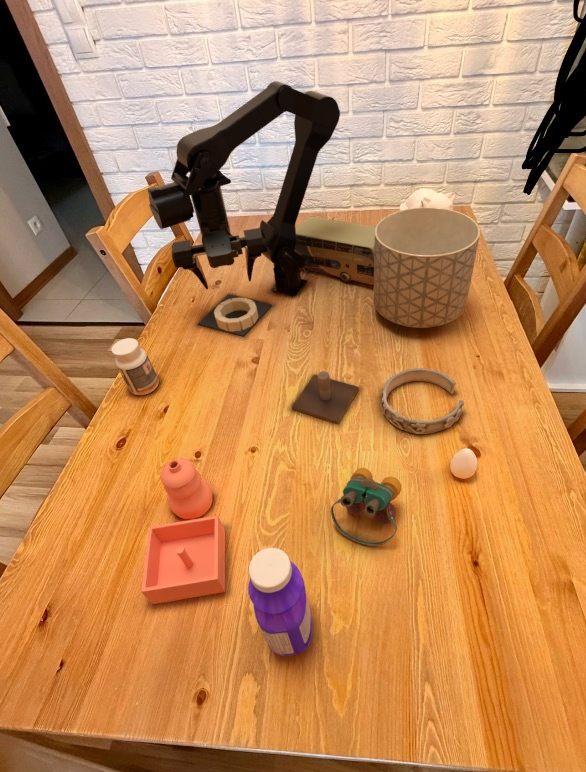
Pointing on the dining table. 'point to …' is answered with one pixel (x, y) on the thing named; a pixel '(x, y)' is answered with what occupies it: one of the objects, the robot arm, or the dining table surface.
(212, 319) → the rubber mat
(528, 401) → the dining table surface
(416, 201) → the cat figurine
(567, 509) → the dining table surface
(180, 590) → the pottery
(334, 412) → the stand
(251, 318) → the beige segmented ring
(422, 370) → the bracelet
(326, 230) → the toy bus
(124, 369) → the pill bottle
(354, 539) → the binoculars
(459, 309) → the planter
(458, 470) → the egg
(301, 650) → the bottle
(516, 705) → the dining table surface
